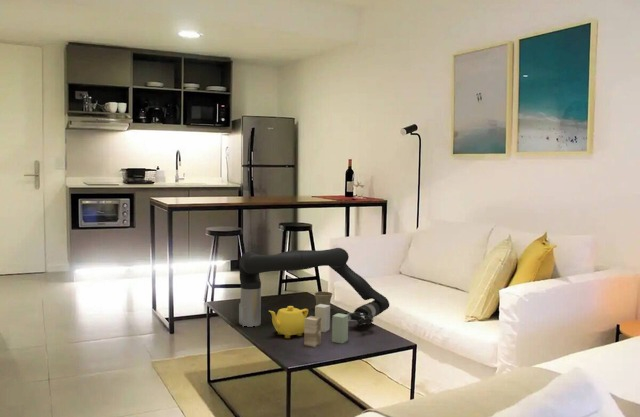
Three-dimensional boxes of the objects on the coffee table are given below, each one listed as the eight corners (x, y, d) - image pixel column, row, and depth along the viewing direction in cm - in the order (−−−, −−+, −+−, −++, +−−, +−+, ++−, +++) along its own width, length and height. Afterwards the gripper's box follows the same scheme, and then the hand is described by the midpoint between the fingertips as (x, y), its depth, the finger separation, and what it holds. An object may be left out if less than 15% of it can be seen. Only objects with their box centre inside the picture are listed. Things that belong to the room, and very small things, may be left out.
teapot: (260, 334, 243) (261, 306, 242) (299, 327, 254) (300, 300, 253) (276, 342, 232) (276, 313, 231) (316, 335, 243) (316, 307, 242)
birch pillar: (314, 346, 227) (315, 320, 227) (304, 344, 230) (304, 318, 229) (320, 343, 232) (321, 317, 231) (310, 341, 234) (310, 315, 233)
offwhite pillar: (324, 332, 248) (325, 307, 247) (314, 330, 250) (315, 306, 249) (329, 329, 252) (330, 305, 251) (319, 327, 254) (320, 303, 254)
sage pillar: (342, 343, 232) (343, 317, 232) (331, 341, 235) (332, 315, 234) (347, 340, 237) (348, 314, 236) (337, 338, 239) (337, 313, 238)
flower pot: (319, 313, 278) (319, 296, 277) (310, 309, 286) (310, 292, 286) (335, 311, 282) (335, 294, 282) (326, 307, 291) (327, 290, 290)
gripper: (351, 303, 261) (335, 310, 247) (379, 307, 255) (365, 315, 240) (350, 318, 262) (335, 327, 248) (379, 323, 255) (364, 332, 241)
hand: (350, 321), depth 244 cm, fingers open, 8 cm apart
